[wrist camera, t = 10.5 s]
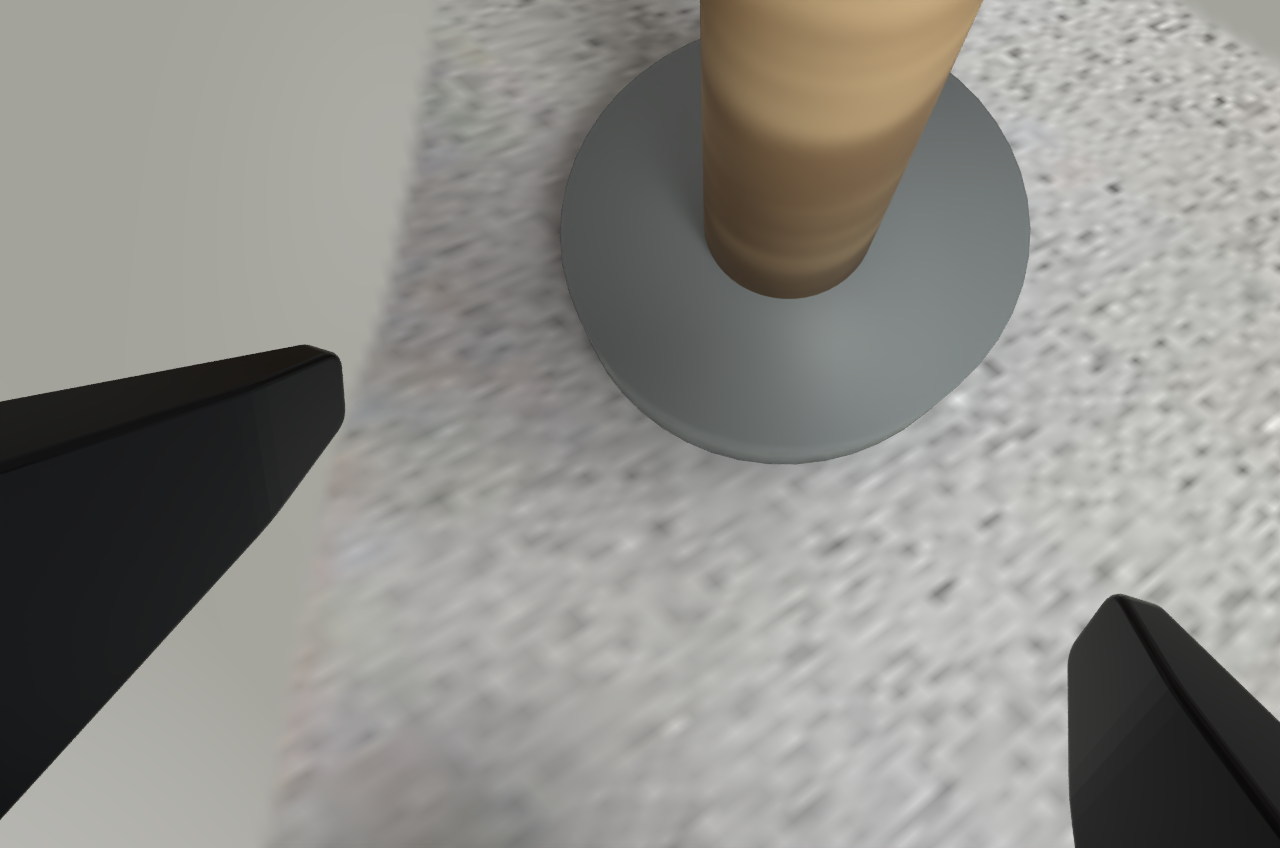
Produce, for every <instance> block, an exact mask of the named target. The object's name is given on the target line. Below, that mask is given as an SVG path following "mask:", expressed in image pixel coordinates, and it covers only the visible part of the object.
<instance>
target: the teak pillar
mask: <svg viewBox="0 0 1280 848" xmlns="http://www.w3.org/2000/svg"><path fill="white" fill-rule="evenodd" d="M982 2H983V0H700V32H701V90H702V148H703V206H704V232H705V238H706V241H707V245H708V248H709V250H710V252H711V254H712V256H713V258H714V260H715V261H716V263H717V264H718V266H719V267H720V268H721V269H722V270H723V272H724V273H725V274H726V275H728V276H729V277H730V278H731V279H732V280H733V281H735V282H736V283H738V284H739V285H740V286H742V287H744V288H746V289H748V290H750V291H752V292H754V293H757V294H760V295H763V296H767V297H772V298H779V299H798V298H806V297H810V296H814V295H818V294H820V293H823V292H825V291H828V290H830V289H831V288H833V287H835V286H837V285H839V284H840V283H841V282H843V281H844V280H845V279H847V278H848V277H849V276H850V275H851V274H852V273H853V272H854V271H855V270H856V269H857V267H858V266H859V265H860V264H861V262H862V261H863V259H864V257H865V256H866V254H867V252H868V250H869V247H870V245H871V243H872V241H873V239H874V237H875V234H876V232H877V230H878V228H879V226H880V224H881V221H882V219H883V217H884V215H885V213H886V210H887V208H888V206H889V204H890V202H891V200H892V197H893V195H894V193H895V191H896V189H897V187H898V184H899V182H900V180H901V178H902V176H903V174H904V171H905V169H906V167H907V165H908V163H909V160H910V158H911V156H912V154H913V152H914V150H915V147H916V145H917V143H918V141H919V139H920V137H921V134H922V132H923V130H924V128H925V126H926V124H927V121H928V119H929V117H930V115H931V113H932V110H933V108H934V106H935V104H936V102H937V100H938V97H939V95H940V93H941V91H942V89H943V87H944V84H945V82H946V80H947V78H948V76H949V74H950V71H951V69H952V67H953V65H954V63H955V60H956V58H957V56H958V54H959V52H960V50H961V47H962V45H963V43H964V41H965V39H966V37H967V34H968V32H969V30H970V28H971V26H972V24H973V21H974V19H975V17H976V15H977V13H978V10H979V8H980V6H981V4H982Z"/></svg>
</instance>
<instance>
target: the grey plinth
mask: <svg viewBox="0 0 1280 848" xmlns="http://www.w3.org/2000/svg"><path fill="white" fill-rule="evenodd" d="M560 240H561V252H562V263H563V268H564V272H565V277H566V281H567V285H568V290H569V293H570V295H571V298H572V300H573V303H574V306H575V308H576V311H577V313H578V316H579V318H580V320H581V322H582V324H583V327H584V329H585V331H586V333H587V335H588V337H589V339H590V341H591V343H592V345H593V347H594V349H595V351H596V353H597V355H598V357H599V358H600V360H601V362H602V364H603V366H604V367H605V369H606V371H607V373H608V374H609V375H610V377H611V378H612V379H613V381H614V382H615V383H616V385H617V386H618V387H619V389H620V390H621V391H622V393H623V394H624V395H625V396H626V397H627V398H628V399H629V400H630V401H631V402H632V403H633V404H634V405H635V406H636V407H637V408H638V409H639V410H640V411H641V412H642V413H644V414H645V415H646V416H648V417H649V418H650V419H652V420H653V421H654V422H655V423H657V424H658V425H659V426H661V427H662V428H663V429H665V430H667V431H669V432H670V433H672V434H674V435H675V436H677V437H679V438H681V439H682V440H684V441H686V442H688V443H690V444H693V445H695V446H698V447H700V448H702V449H705V450H707V451H710V452H712V453H716V454H719V455H723V456H727V457H730V458H734V459H738V460H743V461H751V462H758V463H765V464H802V463H810V462H819V461H826V460H830V459H834V458H838V457H842V456H846V455H850V454H853V453H856V452H858V451H861V450H863V449H866V448H868V447H871V446H873V445H876V444H879V443H880V442H882V441H884V440H886V439H888V438H889V437H891V436H893V435H895V434H897V433H898V432H900V431H902V430H904V429H905V428H906V427H908V426H909V425H910V424H912V423H913V422H914V421H916V420H917V419H918V418H920V417H921V416H922V415H924V414H925V413H926V412H927V411H929V410H930V409H931V408H932V407H933V406H935V405H936V404H937V403H938V402H939V401H941V400H942V399H943V398H944V397H945V396H947V395H948V394H949V393H950V392H951V391H953V390H954V389H955V388H956V387H957V386H958V385H959V384H960V383H961V382H962V381H963V380H964V379H965V378H966V377H967V376H968V375H969V374H970V373H971V372H972V371H973V370H974V369H975V368H976V367H977V366H978V365H979V364H980V363H981V362H982V360H983V359H984V358H985V357H986V355H987V354H988V353H989V351H990V350H991V349H992V347H993V346H994V345H995V343H996V342H997V341H998V339H999V337H1000V335H1001V334H1002V332H1003V330H1004V328H1005V326H1006V324H1007V323H1008V321H1009V319H1010V317H1011V315H1012V314H1013V311H1014V308H1015V305H1016V303H1017V300H1018V297H1019V295H1020V292H1021V289H1022V286H1023V282H1024V278H1025V273H1026V268H1027V263H1028V258H1029V244H1030V219H1029V209H1028V199H1027V195H1026V191H1025V187H1024V183H1023V179H1022V175H1021V171H1020V169H1019V166H1018V164H1017V161H1016V159H1015V157H1014V154H1013V152H1012V149H1011V147H1010V145H1009V143H1008V141H1007V140H1006V138H1005V136H1004V134H1003V133H1002V131H1001V129H1000V128H999V126H998V124H997V122H996V121H995V119H994V118H993V117H992V116H991V114H990V113H989V112H988V111H987V109H986V108H985V107H984V105H983V104H982V103H981V102H980V100H979V99H978V98H977V97H976V96H975V95H974V94H973V93H972V92H971V91H970V90H969V89H968V88H967V87H966V86H965V85H964V84H963V83H962V82H961V81H960V80H959V79H958V78H956V77H955V76H954V75H952V74H951V73H950V74H949V76H948V78H947V80H946V82H945V84H944V87H943V89H942V91H941V93H940V95H939V97H938V100H937V102H936V104H935V106H934V108H933V110H932V113H931V115H930V117H929V119H928V121H927V124H926V126H925V128H924V130H923V132H922V134H921V137H920V139H919V141H918V143H917V145H916V147H915V150H914V152H913V154H912V156H911V158H910V160H909V163H908V165H907V167H906V169H905V171H904V174H903V176H902V178H901V180H900V182H899V184H898V187H897V189H896V191H895V193H894V195H893V197H892V200H891V202H890V204H889V206H888V208H887V210H886V213H885V215H884V217H883V219H882V221H881V224H880V226H879V228H878V230H877V232H876V234H875V237H874V239H873V241H872V243H871V245H870V247H869V250H868V252H867V254H866V256H865V257H864V259H863V261H862V262H861V264H860V265H859V266H858V267H857V269H856V270H855V271H854V272H853V273H852V274H851V275H850V276H849V277H848V278H847V279H845V280H844V281H843V282H841V283H840V284H839V285H837V286H835V287H833V288H831V289H830V290H828V291H825V292H823V293H820V294H818V295H814V296H810V297H806V298H798V299H779V298H772V297H767V296H763V295H760V294H757V293H754V292H752V291H750V290H748V289H746V288H744V287H742V286H740V285H739V284H738V283H736V282H735V281H733V280H732V279H731V278H730V277H729V276H728V275H726V274H725V273H724V272H723V270H722V269H721V268H720V267H719V266H718V264H717V263H716V261H715V260H714V258H713V256H712V254H711V252H710V250H709V248H708V245H707V241H706V238H705V232H704V206H703V148H702V90H701V39H700V40H697V41H695V42H692V43H690V44H687V45H686V46H684V47H682V48H680V49H678V50H676V51H674V52H673V53H671V54H669V55H667V56H665V57H663V58H662V59H661V60H659V61H658V62H656V63H655V64H653V65H652V66H651V67H649V68H648V69H646V70H645V71H643V72H642V73H641V74H640V75H638V76H637V77H636V78H635V79H634V80H633V81H632V82H631V83H629V84H628V85H627V86H626V87H625V88H624V89H623V90H622V91H621V92H620V93H619V94H618V95H617V96H616V97H615V98H614V100H613V101H612V102H611V103H610V104H609V105H608V106H607V108H606V109H605V110H604V111H603V112H602V114H601V115H600V117H599V118H598V120H597V121H596V123H595V124H594V125H593V127H592V128H591V130H590V131H589V133H588V134H587V136H586V138H585V140H584V142H583V144H582V146H581V148H580V150H579V152H578V154H577V156H576V158H575V161H574V164H573V167H572V170H571V173H570V176H569V179H568V182H567V186H566V191H565V196H564V201H563V206H562V214H561V232H560Z"/></svg>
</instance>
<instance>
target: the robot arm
mask: <svg viewBox="0 0 1280 848" xmlns="http://www.w3.org/2000/svg"><path fill="white" fill-rule="evenodd" d="M344 416H345V399H344V387H343V374H342V365H341V361H340V359H339V357H338V356H337V355H336V354H335V353H333V352H330V351H327V350H323V349H320V348H317V347H314V346H310V345H298V346H293V347H288V348H283V349H277V350H271V351H266V352H262V353H256V354H250V355H245V356H240V357H235V358H229V359H224V360H219V361H214V362H208V363H203V364H197V365H192V366H187V367H181V368H176V369H171V370H166V371H160V372H156V373H150V374H144V375H139V376H134V377H128V378H123V379H118V380H113V381H107V382H102V383H97V384H91V385H86V386H81V387H76V388H70V389H65V390H60V391H55V392H49V393H44V394H38V395H33V396H28V397H23V398H18V399H12V400H7V401H2V402H0V820H1V818H2V817H3V816H4V815H5V814H6V813H7V812H8V811H9V810H10V808H12V806H13V805H14V804H15V803H16V802H17V801H18V800H19V799H20V798H21V797H22V795H23V794H24V793H25V792H26V791H27V790H28V789H29V788H30V787H31V785H32V784H33V783H34V782H35V781H36V780H37V779H38V778H39V776H41V774H42V773H43V772H44V771H45V770H46V769H47V768H48V767H49V766H50V765H51V764H52V762H53V761H54V760H55V759H56V758H57V757H58V756H59V755H60V754H61V752H62V751H63V750H64V749H65V748H66V747H67V746H68V745H69V744H70V743H71V742H72V740H73V739H74V738H75V737H76V736H77V735H78V734H79V733H80V732H81V731H82V729H83V728H84V727H85V726H86V725H87V724H88V723H89V722H90V721H91V720H92V718H93V717H94V716H95V715H96V714H97V713H98V712H99V711H100V710H101V709H102V707H103V706H104V705H105V704H106V703H107V702H108V701H109V700H110V699H111V698H112V696H113V695H114V694H115V693H116V692H117V691H118V690H119V689H120V687H122V686H123V684H124V683H125V682H126V681H127V680H128V679H129V678H130V677H131V676H132V674H133V673H134V672H135V671H136V670H137V669H138V668H139V667H140V666H141V665H142V664H143V662H144V661H145V660H146V659H147V658H148V657H149V656H150V655H151V654H152V652H153V651H154V650H155V649H156V648H157V647H158V646H159V645H160V644H161V642H162V641H163V640H164V639H165V638H166V637H167V636H168V635H169V634H170V633H171V632H172V631H173V629H174V628H175V627H176V626H177V625H178V624H179V623H180V622H181V620H183V618H184V617H185V616H186V615H187V614H188V613H189V612H190V611H191V610H192V609H193V607H194V606H195V605H196V604H197V603H198V602H199V601H200V600H201V599H202V598H203V596H204V595H205V594H206V593H207V592H208V591H209V590H210V589H211V588H212V587H213V585H214V584H215V583H216V582H217V581H218V580H219V579H220V578H221V577H222V576H223V574H224V573H225V572H226V571H227V570H228V569H229V568H230V567H231V566H232V564H233V563H234V562H235V561H236V560H237V559H238V558H239V557H240V556H241V555H242V554H243V553H244V551H245V550H246V549H247V548H248V547H249V546H250V545H251V544H252V542H253V541H254V540H255V539H256V538H257V537H258V536H259V535H260V534H261V532H262V531H263V530H264V529H265V528H266V527H267V526H268V524H269V523H270V522H271V521H272V519H273V518H274V517H275V516H276V515H277V513H278V512H279V511H280V509H281V508H282V507H283V506H284V504H285V503H286V502H287V500H288V499H289V498H290V496H291V495H292V493H293V492H294V491H295V489H296V488H297V487H298V485H299V484H300V482H301V481H302V480H303V478H304V477H305V475H306V474H307V473H308V472H309V470H310V469H311V467H312V466H313V465H314V463H315V462H316V460H317V459H318V458H319V456H320V455H321V454H322V452H323V451H324V450H325V448H326V447H327V446H328V444H329V443H330V441H331V440H332V439H333V437H334V436H335V435H336V433H337V432H338V430H339V429H340V427H341V425H342V423H343V420H344ZM1068 775H1069V800H1070V809H1071V819H1072V828H1073V835H1074V843H1075V848H1280V722H1279V721H1278V720H1277V719H1276V718H1275V717H1274V716H1273V715H1272V714H1271V713H1270V712H1269V711H1268V710H1267V709H1266V708H1265V707H1264V706H1263V705H1262V704H1261V703H1260V702H1259V701H1258V700H1257V699H1255V698H1254V697H1253V696H1252V695H1251V694H1250V693H1249V692H1248V691H1247V690H1246V689H1245V688H1244V687H1243V686H1242V685H1241V684H1240V683H1239V682H1238V681H1237V680H1236V679H1235V678H1234V677H1233V676H1232V675H1231V674H1230V673H1229V672H1228V671H1227V670H1226V669H1224V668H1223V667H1222V666H1221V665H1220V664H1219V663H1218V662H1217V661H1216V660H1215V659H1214V658H1213V657H1212V656H1211V655H1210V654H1209V653H1208V652H1207V651H1206V650H1205V649H1204V648H1203V647H1202V646H1201V645H1200V644H1199V643H1198V642H1197V641H1196V640H1195V639H1194V638H1192V637H1191V636H1190V635H1189V634H1188V633H1187V632H1186V631H1185V630H1184V629H1183V628H1182V627H1181V626H1180V625H1179V624H1178V623H1177V622H1176V621H1175V620H1174V619H1173V618H1172V617H1171V616H1170V615H1169V614H1168V613H1167V612H1166V611H1165V610H1163V609H1162V608H1161V607H1160V606H1158V605H1156V604H1153V603H1150V602H1147V601H1143V600H1140V599H1137V598H1134V597H1130V596H1127V595H1124V594H1115V595H1112V596H1110V597H1109V598H1107V599H1106V600H1105V601H1104V603H1103V604H1102V605H1101V607H1100V608H1099V609H1098V611H1097V612H1096V613H1095V615H1094V616H1093V617H1092V619H1091V620H1090V622H1089V623H1088V624H1087V626H1086V627H1085V628H1084V630H1083V631H1082V632H1081V634H1080V635H1079V637H1078V638H1077V639H1076V641H1075V642H1074V644H1073V646H1072V648H1071V650H1070V654H1069V658H1068Z"/></svg>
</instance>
